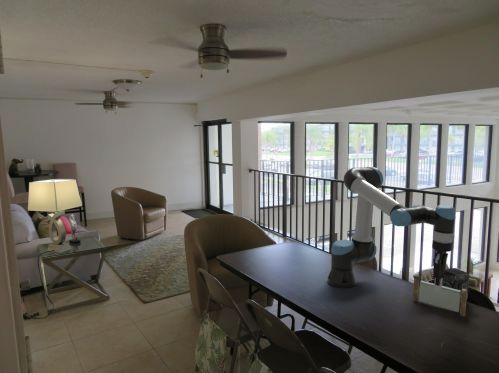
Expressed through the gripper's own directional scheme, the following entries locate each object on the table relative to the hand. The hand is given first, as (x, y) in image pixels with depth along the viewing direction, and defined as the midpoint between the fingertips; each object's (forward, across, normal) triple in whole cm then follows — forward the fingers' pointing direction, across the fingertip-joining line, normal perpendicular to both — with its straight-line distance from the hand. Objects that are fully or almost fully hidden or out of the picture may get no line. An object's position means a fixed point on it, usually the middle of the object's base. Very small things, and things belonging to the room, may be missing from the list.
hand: (437, 291), depth 157 cm
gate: (+11, +9, +1) cm, 14 cm away
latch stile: (+11, +8, -9) cm, 17 cm away
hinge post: (+12, +9, +12) cm, 19 cm away
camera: (+12, +23, -2) cm, 26 cm away
